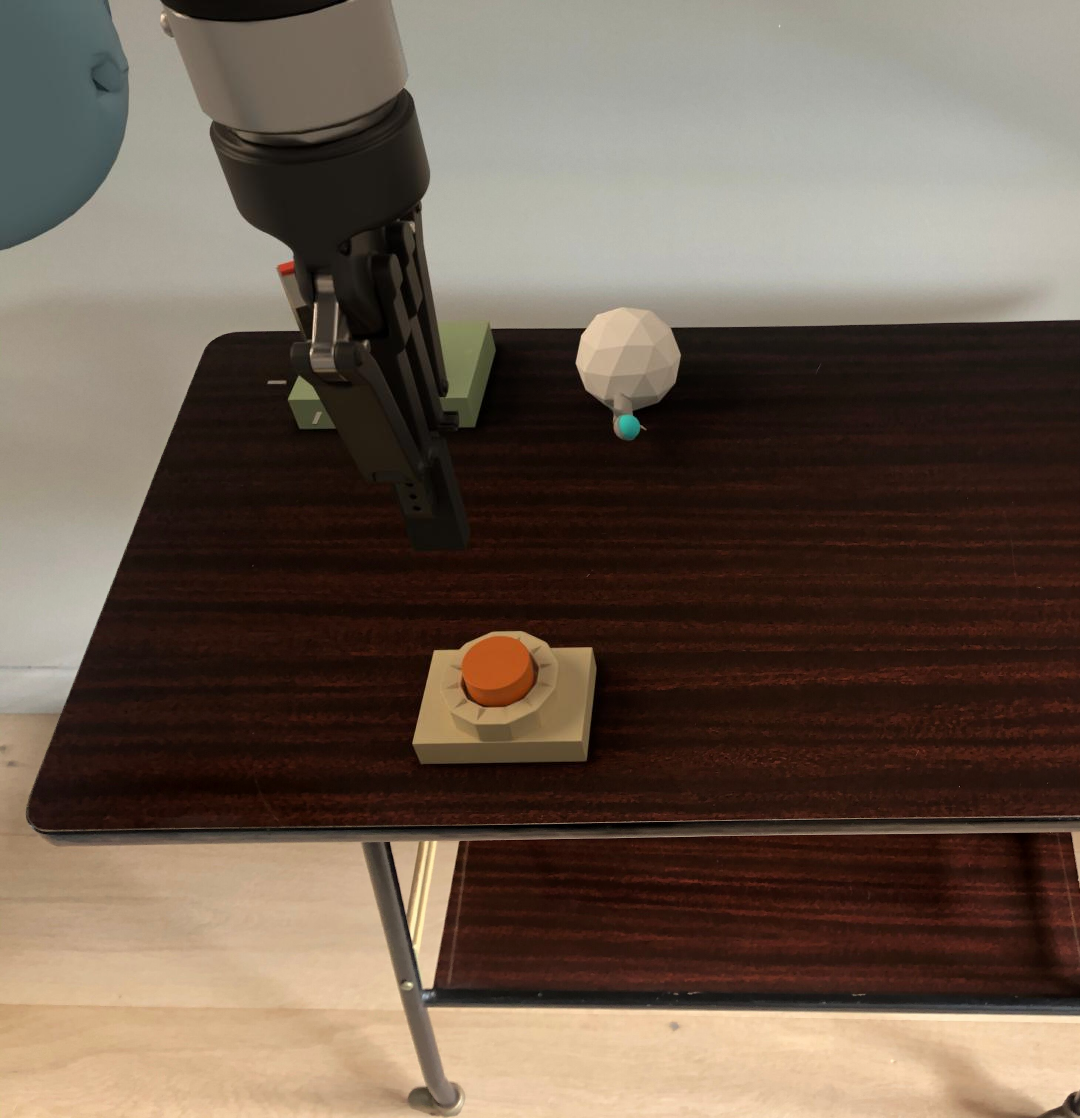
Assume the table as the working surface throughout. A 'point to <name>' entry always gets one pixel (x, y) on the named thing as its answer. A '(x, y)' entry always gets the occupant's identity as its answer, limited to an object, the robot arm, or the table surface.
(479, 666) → the button
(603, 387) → the perfume bottle
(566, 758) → the box
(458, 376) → the clamp block
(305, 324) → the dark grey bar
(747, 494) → the table surface
